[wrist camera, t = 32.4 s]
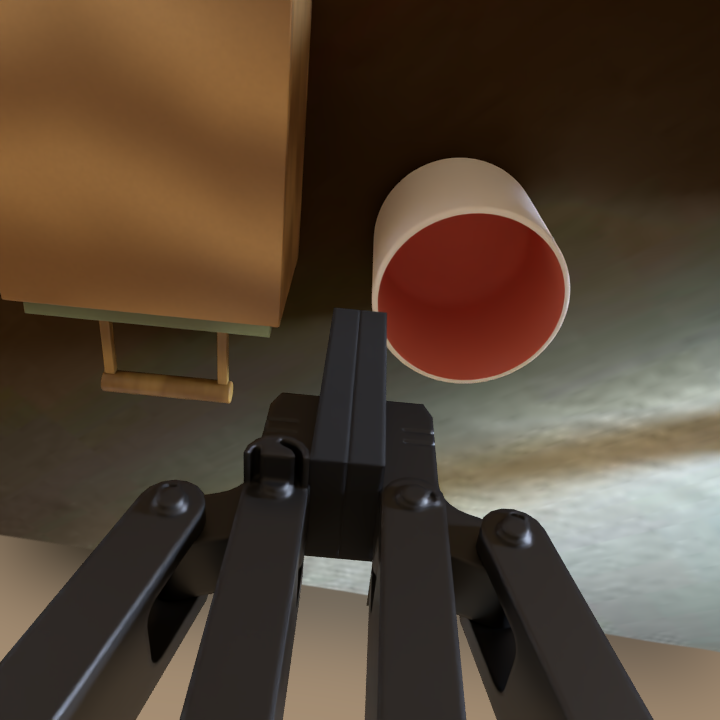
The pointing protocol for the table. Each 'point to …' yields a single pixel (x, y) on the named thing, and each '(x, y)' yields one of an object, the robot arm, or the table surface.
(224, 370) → the drawer
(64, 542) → the table surface
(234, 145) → the cabinet
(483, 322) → the cup
